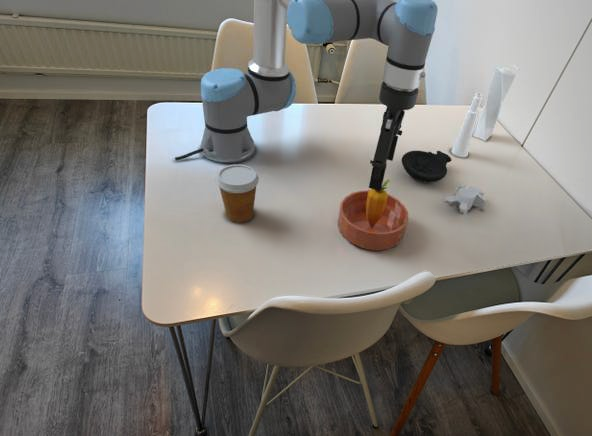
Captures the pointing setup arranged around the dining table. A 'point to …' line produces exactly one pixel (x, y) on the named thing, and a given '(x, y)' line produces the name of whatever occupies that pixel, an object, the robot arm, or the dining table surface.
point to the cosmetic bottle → (467, 128)
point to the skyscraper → (494, 101)
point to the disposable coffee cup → (238, 191)
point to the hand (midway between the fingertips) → (381, 173)
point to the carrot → (376, 204)
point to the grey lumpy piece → (467, 198)
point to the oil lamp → (426, 165)
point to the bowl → (382, 232)
